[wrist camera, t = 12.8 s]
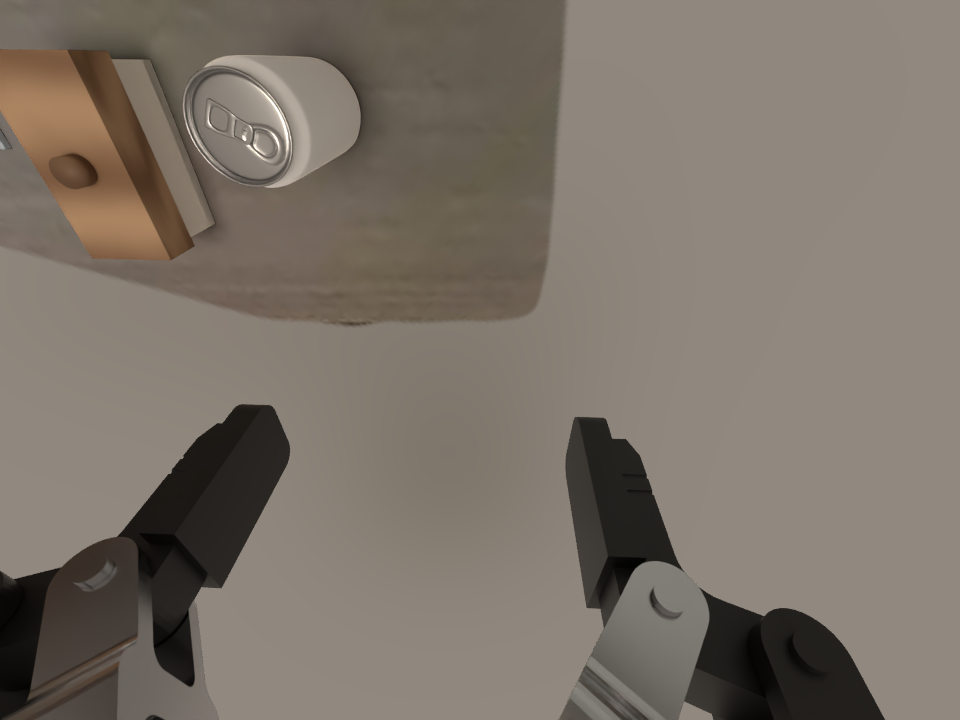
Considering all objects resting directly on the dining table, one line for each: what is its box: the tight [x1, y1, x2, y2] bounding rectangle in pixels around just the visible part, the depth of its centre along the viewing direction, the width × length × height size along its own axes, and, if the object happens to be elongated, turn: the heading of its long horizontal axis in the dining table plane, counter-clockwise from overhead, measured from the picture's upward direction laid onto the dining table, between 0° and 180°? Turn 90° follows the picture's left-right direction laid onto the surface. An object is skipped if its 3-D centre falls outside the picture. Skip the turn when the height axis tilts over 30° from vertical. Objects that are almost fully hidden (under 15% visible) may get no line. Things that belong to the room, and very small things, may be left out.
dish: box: [112, 59, 215, 237], centre depth 31 cm, size 12×6×4 cm, turn 0°
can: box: [182, 55, 361, 188], centre depth 26 cm, size 6×6×12 cm
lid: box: [0, 49, 194, 260], centre depth 28 cm, size 13×6×4 cm, turn 0°
